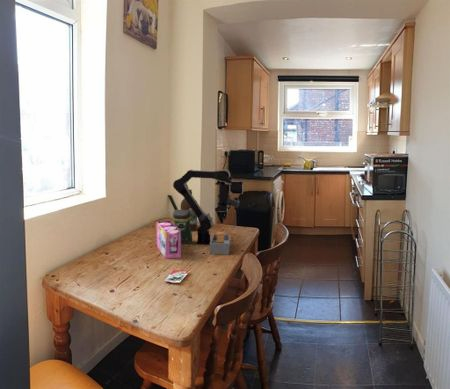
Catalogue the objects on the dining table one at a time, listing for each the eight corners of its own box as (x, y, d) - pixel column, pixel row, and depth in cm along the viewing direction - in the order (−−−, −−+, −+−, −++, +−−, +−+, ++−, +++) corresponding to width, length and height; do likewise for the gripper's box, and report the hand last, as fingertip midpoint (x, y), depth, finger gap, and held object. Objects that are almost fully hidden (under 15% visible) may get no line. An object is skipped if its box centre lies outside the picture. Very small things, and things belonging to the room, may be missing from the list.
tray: (209, 253, 213) (209, 243, 212) (212, 244, 231) (212, 234, 230) (228, 254, 213) (228, 243, 212) (230, 244, 230) (230, 234, 229)
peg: (223, 250, 220) (223, 233, 219) (216, 250, 220) (217, 233, 219) (224, 248, 223) (224, 231, 222) (217, 248, 224) (217, 231, 222)
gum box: (182, 258, 206) (182, 231, 204) (166, 259, 203) (165, 232, 201) (171, 245, 228) (170, 220, 226) (156, 246, 225) (156, 221, 223)
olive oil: (177, 229, 263) (176, 189, 259) (190, 226, 270) (190, 188, 266) (187, 232, 255) (187, 191, 251) (201, 229, 262) (201, 189, 258)
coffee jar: (193, 238, 237) (192, 207, 230) (190, 245, 229) (188, 213, 223) (176, 237, 238) (174, 207, 232) (173, 244, 231) (171, 212, 224)
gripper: (236, 196, 218) (235, 226, 220) (240, 191, 236) (240, 218, 239) (215, 195, 220) (214, 224, 222) (221, 190, 238) (220, 217, 240)
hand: (223, 221), depth 231 cm, fingers open, 9 cm apart
